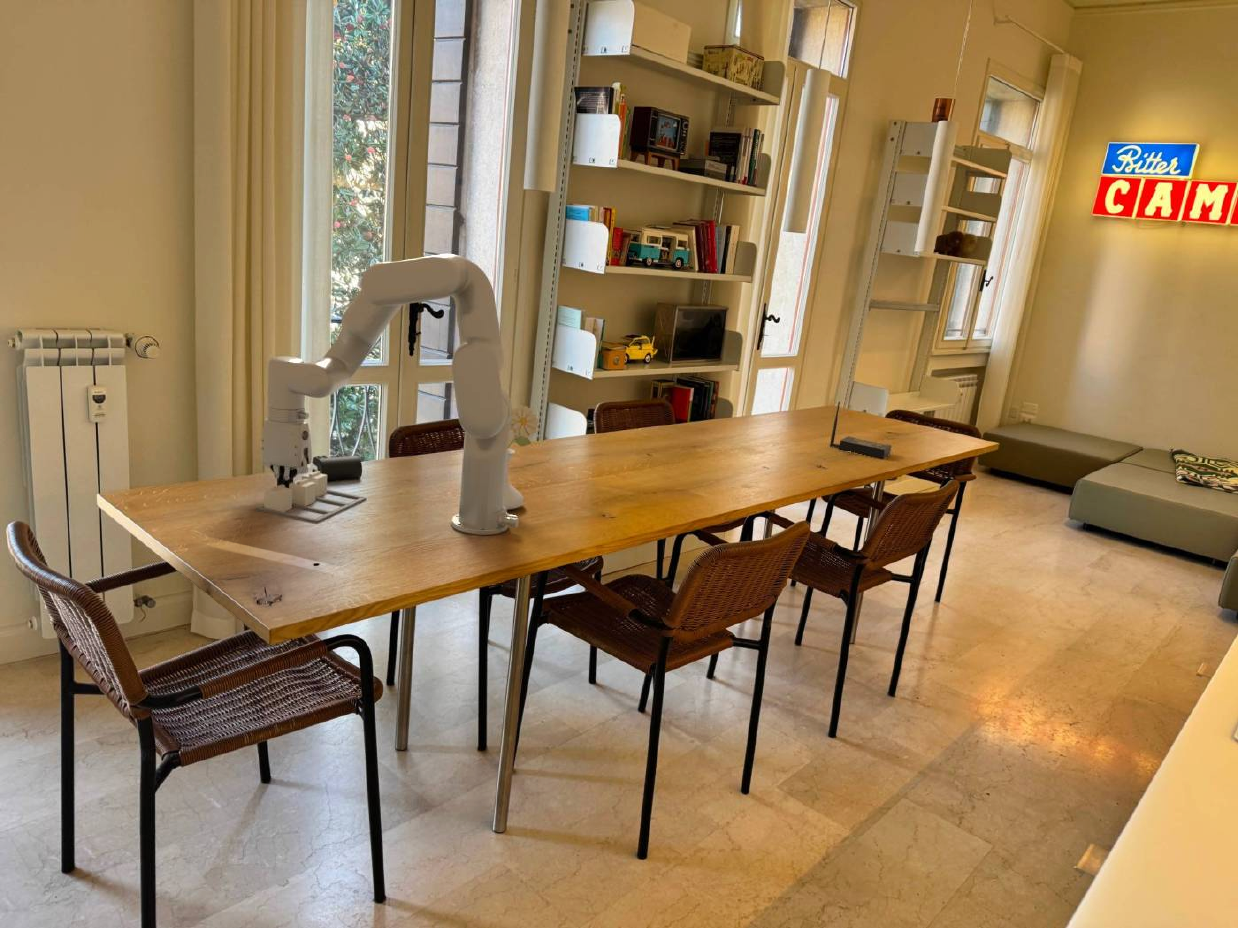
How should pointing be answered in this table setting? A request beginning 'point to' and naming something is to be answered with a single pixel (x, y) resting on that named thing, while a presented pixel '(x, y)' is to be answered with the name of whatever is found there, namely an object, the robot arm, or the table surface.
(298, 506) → the switch bank
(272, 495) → the cream block
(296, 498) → the cream block with ridge
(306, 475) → the cream block with bar
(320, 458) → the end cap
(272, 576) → the table surface
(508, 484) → the flower in vase
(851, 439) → the wireless controller
